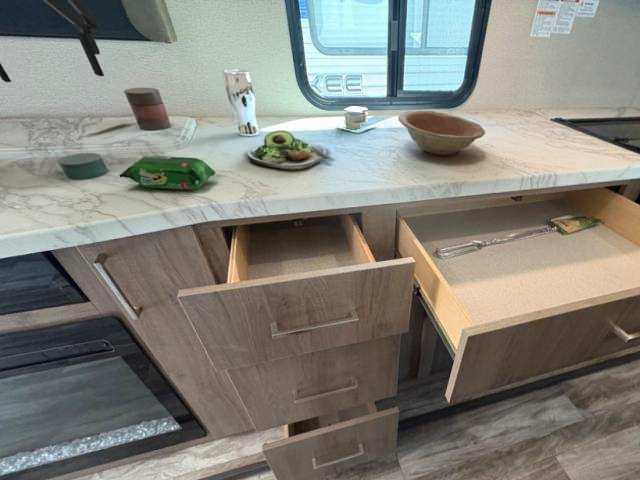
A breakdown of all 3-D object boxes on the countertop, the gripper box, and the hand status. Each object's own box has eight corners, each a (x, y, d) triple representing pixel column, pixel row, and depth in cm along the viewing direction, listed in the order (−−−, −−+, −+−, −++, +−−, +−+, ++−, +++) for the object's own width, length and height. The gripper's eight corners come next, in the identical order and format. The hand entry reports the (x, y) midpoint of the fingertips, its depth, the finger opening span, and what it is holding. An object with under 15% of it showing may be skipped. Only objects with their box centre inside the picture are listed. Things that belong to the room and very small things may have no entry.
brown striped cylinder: (131, 128, 94) (115, 91, 88) (153, 121, 100) (139, 86, 94) (158, 131, 93) (143, 94, 87) (178, 124, 99) (166, 89, 93)
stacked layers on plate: (358, 134, 102) (358, 114, 99) (335, 128, 105) (334, 109, 102) (376, 127, 109) (376, 108, 105) (354, 122, 112) (353, 104, 109)
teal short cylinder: (57, 177, 68) (48, 161, 66) (88, 165, 73) (80, 151, 71) (87, 181, 67) (79, 166, 65) (116, 169, 72) (109, 155, 70)
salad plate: (346, 155, 87) (345, 136, 84) (306, 178, 74) (303, 157, 71) (285, 142, 92) (282, 124, 89) (238, 162, 79) (233, 141, 76)
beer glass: (231, 134, 95) (214, 71, 85) (246, 128, 100) (233, 68, 90) (251, 138, 93) (237, 74, 84) (266, 132, 99) (255, 71, 89)
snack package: (144, 177, 70) (132, 151, 67) (220, 179, 71) (212, 154, 68) (124, 191, 65) (110, 164, 61) (206, 194, 66) (197, 167, 62)
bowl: (458, 172, 82) (464, 138, 77) (380, 151, 91) (380, 118, 86) (492, 150, 98) (499, 120, 93) (422, 133, 107) (425, 105, 102)
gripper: (-185, -128, 38) (-37, 87, 52) (78, -82, 53) (139, 75, 67) (-183, -120, 42) (-44, 80, 56) (64, -79, 57) (124, 70, 71)
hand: (56, 78), depth 62 cm, fingers open, 13 cm apart
